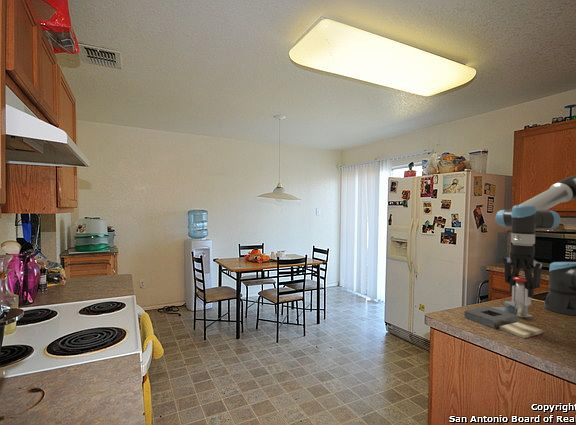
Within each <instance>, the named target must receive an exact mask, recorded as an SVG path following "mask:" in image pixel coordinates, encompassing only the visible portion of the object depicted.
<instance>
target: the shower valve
mask: <svg viewBox="0 0 576 425" xmlns="http://www.w3.org/2000/svg"><path fill="white" fill-rule="evenodd" d="M491 307H492V308H496V309H499V310H502V311H505V312H509V313H512V314H515V302H512V300H505V301H504V306H491ZM519 318H521V317H520V316H519ZM526 318H527V319H528V318H529V319H530V318H531V319H532V318H533V315H532V314H529V313H527V317H525V319H526Z"/></svg>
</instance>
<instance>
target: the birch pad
mask: <svg viewBox="0 0 576 425" xmlns="http://www.w3.org/2000/svg"><path fill="white" fill-rule="evenodd" d="M498 328H499V330H501V331H503V332H506V333H509V334H511V335H514V336H517V337H519V338H522V339H525V338H526V339H527V338H530V337H534V336H536V335H540V334H544V330H543V329H541V328H538V327H536V326H531V325H528V324H525V323H522V322H520V321H519V322H516V323H512V324H507V325H503V326H500V327H498Z"/></svg>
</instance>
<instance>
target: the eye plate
mask: <svg viewBox="0 0 576 425" xmlns="http://www.w3.org/2000/svg"><path fill="white" fill-rule="evenodd" d="M492 307H493V306H483V307H478V308H473V309H468V310H465V311H464V318H465V319H467V320H469V321H470V320H471V321H472V322H476V323H479V324H481V325H483V326H487V327H489V328H493V329H497V328H499V327H500V326H503V325H507V324H512V323H516V322H520V320H519V318H520V317H519V316H516V315H515V314H512V313H509V312H505V311H502V310H499V309H496V308H492Z"/></svg>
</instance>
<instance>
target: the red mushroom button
mask: <svg viewBox="0 0 576 425" xmlns="http://www.w3.org/2000/svg"><path fill="white" fill-rule="evenodd" d="M512 279H513V280H515V315H516V316H520V317H519V318H524V317H527V314H528V306H526V305H525V288H527V283H526V282H528V279H526V278H525V276H523V275H522V276H521V275H518V276H517V277H513V276H512Z"/></svg>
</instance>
